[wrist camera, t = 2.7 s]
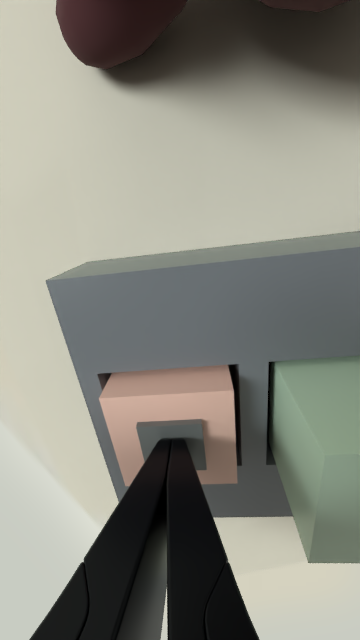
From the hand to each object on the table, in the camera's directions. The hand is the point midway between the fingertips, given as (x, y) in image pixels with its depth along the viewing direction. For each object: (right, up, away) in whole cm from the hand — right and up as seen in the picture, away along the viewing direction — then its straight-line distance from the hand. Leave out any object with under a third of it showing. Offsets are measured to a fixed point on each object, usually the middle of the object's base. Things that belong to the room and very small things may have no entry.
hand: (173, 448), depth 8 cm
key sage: (+5, +1, +1) cm, 6 cm away
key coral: (0, +2, +4) cm, 4 cm away
